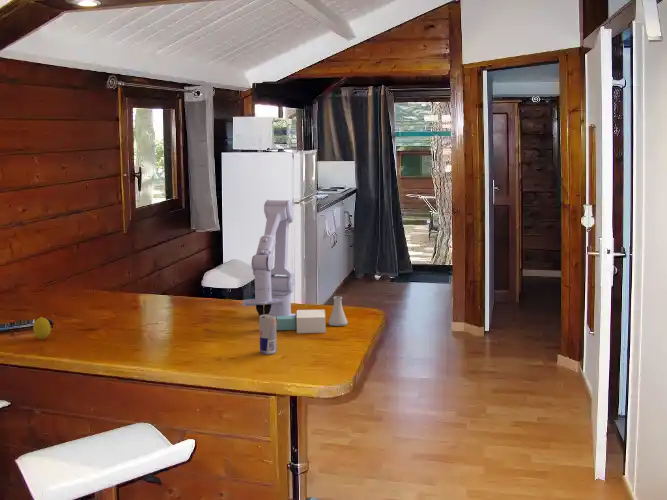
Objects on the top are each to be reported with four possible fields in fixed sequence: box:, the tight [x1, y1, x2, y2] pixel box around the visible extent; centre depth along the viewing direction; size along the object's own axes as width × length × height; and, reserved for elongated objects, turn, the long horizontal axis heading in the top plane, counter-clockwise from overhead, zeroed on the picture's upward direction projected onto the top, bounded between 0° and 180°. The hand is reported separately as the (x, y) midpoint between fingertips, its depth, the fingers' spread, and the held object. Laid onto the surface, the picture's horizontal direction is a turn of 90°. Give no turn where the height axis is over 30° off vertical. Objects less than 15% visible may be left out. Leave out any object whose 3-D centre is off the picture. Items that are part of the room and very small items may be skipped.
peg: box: [276, 315, 296, 331], centre depth 266 cm, size 8×4×4 cm, turn 92°
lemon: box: [32, 316, 51, 340], centre depth 257 cm, size 6×6×8 cm
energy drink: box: [258, 314, 278, 356], centre depth 239 cm, size 5×5×12 cm
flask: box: [327, 295, 349, 327], centre depth 272 cm, size 7×7×10 cm
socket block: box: [295, 309, 327, 334], centre depth 267 cm, size 10×11×6 cm
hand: (264, 325), depth 266 cm, fingers closed
